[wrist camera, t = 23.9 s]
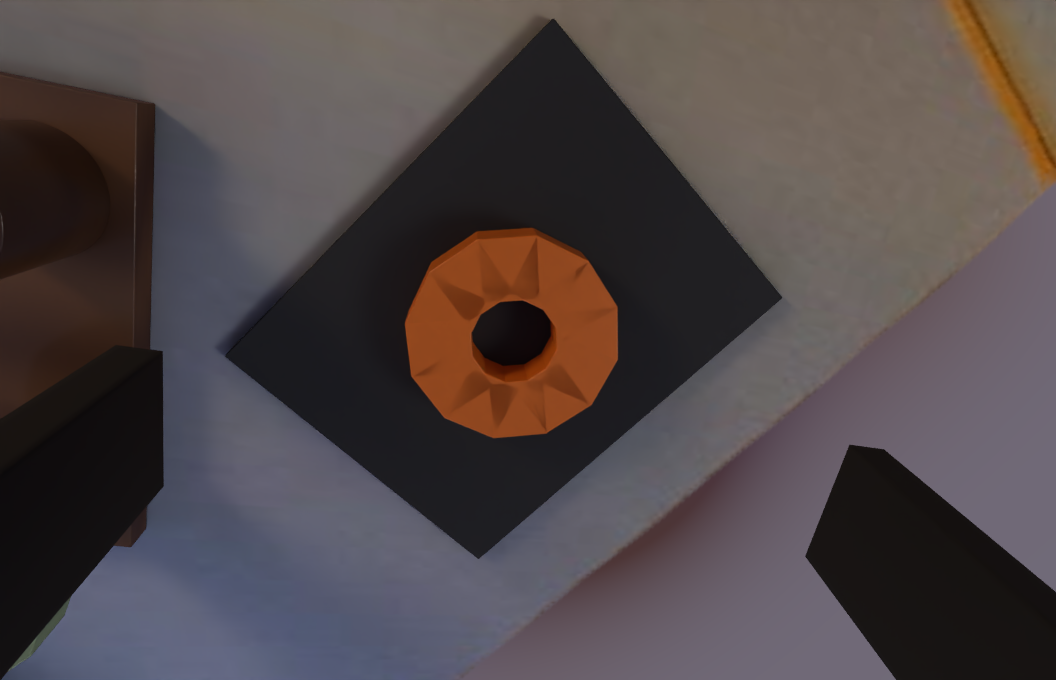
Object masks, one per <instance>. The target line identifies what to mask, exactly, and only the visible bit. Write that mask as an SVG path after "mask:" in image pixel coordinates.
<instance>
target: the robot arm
mask: <svg viewBox="0 0 1056 680" xmlns="http://www.w3.org/2000/svg"><path fill="white" fill-rule="evenodd" d="M163 486H164V483H163V351H157V350H149V349H142V348H135V347H127V346H120V345H115V346H113V347H112V348H110V349H109V350H107V351H106V352H104V353H102V354H101V355H99V356H98V357H96V358H95V359H93V360H91V361H90V362H88V363H87V364H85V365H84V366H82V367H81V368H79V369H77V370H76V371H74V372H73V373H71V374H70V375H68V376H67V377H65V378H63V379H62V380H60V381H59V382H57V383H56V384H54V385H53V386H51V387H49V388H48V389H46V390H45V391H43V392H42V393H40V394H39V395H37V396H35V397H34V398H32V399H31V400H29V401H28V402H26V403H24V404H23V405H21V406H20V407H18V408H17V409H15V410H14V411H12V412H10V413H9V414H7V415H6V416H4V417H3V418H1V419H0V680H1V679H2V678H3V676H4V675H5V674H6V673H7V672H8V670H9V669H10V668H11V667H12V666H13V665H14V663H15V662H16V661H17V660H18V659H19V657H20V656H21V655H22V654H23V653H24V651H25V650H26V649H27V648H28V647H29V646H30V644H31V643H32V642H33V641H34V640H35V638H36V637H37V636H38V635H39V634H40V632H41V631H42V630H43V629H44V628H45V626H46V625H47V624H48V623H49V622H50V621H51V619H52V618H53V617H54V616H55V615H56V613H57V612H58V611H59V610H60V609H61V607H62V606H63V605H64V604H65V603H66V602H67V600H68V599H69V598H70V597H71V596H72V594H73V593H74V592H75V591H76V590H77V588H78V587H79V586H80V585H81V584H82V583H83V581H84V580H85V579H86V578H87V577H88V575H89V574H90V573H91V572H92V571H93V569H94V568H95V567H96V566H97V565H98V563H99V562H100V561H101V560H102V559H103V558H104V556H105V555H106V554H107V553H108V552H109V550H110V549H111V548H112V547H113V546H114V544H115V543H116V542H117V541H118V540H119V539H120V537H121V536H122V535H123V534H124V533H125V531H126V530H127V529H128V528H129V527H130V525H131V524H132V523H133V522H134V521H135V520H136V518H137V517H138V516H139V515H140V514H141V512H142V511H143V510H144V509H145V508H146V506H147V505H148V504H149V503H150V502H151V500H152V499H153V498H154V497H155V496H156V495H157V493H158V492H159V491H160V490H161V489H162V487H163ZM806 558H807V559H808V561H809V562H810V563H811V565H812V566H813V567H814V569H815V570H816V572H817V573H818V574H819V576H820V577H821V578H822V580H823V581H824V582H825V584H826V585H827V586H828V588H829V589H830V590H831V592H832V593H833V595H834V596H835V597H836V599H837V600H838V601H839V603H840V604H841V606H842V607H843V608H844V610H845V611H846V612H847V614H848V615H849V616H850V618H851V619H852V620H853V622H854V623H855V625H856V626H857V627H858V628H859V630H860V631H861V633H862V634H863V635H864V637H865V638H866V639H867V641H868V642H869V643H870V645H871V646H872V647H873V649H874V650H875V652H876V653H877V654H878V656H879V657H880V658H881V660H882V661H883V662H884V664H885V665H886V667H887V668H888V669H889V671H890V672H891V673H892V675H893V676H894V677H895V679H896V680H1056V592H1055V591H1054V590H1053V589H1051V588H1050V587H1049V586H1048V585H1046V584H1045V583H1044V582H1043V581H1042V580H1041V579H1039V578H1038V577H1037V576H1036V575H1034V574H1033V573H1032V572H1031V571H1030V570H1029V569H1027V568H1026V567H1025V566H1024V565H1022V564H1021V563H1020V562H1019V561H1018V560H1016V559H1015V558H1014V557H1013V556H1012V555H1010V554H1009V553H1008V552H1007V551H1006V550H1004V549H1003V548H1002V547H1001V546H1000V545H998V544H997V543H996V542H995V541H993V540H992V539H991V538H990V537H989V536H988V535H986V534H985V533H984V532H983V531H982V530H980V529H979V528H978V527H977V526H976V525H974V524H973V523H972V522H971V521H969V520H968V519H967V518H966V517H965V516H963V515H962V514H961V513H960V512H959V511H957V510H956V509H955V508H954V507H953V506H951V505H950V504H949V503H948V502H947V501H945V500H944V499H943V498H942V497H941V496H939V495H938V494H937V493H935V491H933V490H932V489H931V488H930V487H928V486H927V485H926V484H925V483H923V481H921V480H920V479H919V478H918V477H917V476H915V475H914V474H913V473H912V472H910V471H909V470H908V469H907V468H906V467H904V466H903V465H902V464H901V463H900V462H898V461H897V460H896V459H894V457H892V456H891V455H890V454H889V453H888V452H886V451H885V450H884V449H876V448H870V447H862V446H855V445H849V448H848V450H847V453H846V455H845V458H844V460H843V463H842V465H841V468H840V471H839V473H838V475H837V478H836V480H835V483H834V485H833V488H832V490H831V493H830V495H829V498H828V501H827V503H826V505H825V508H824V510H823V513H822V515H821V518H820V521H819V523H818V526H817V528H816V531H815V533H814V536H813V538H812V541H811V543H810V546H809V548H808V551H807V553H806Z"/></svg>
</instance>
